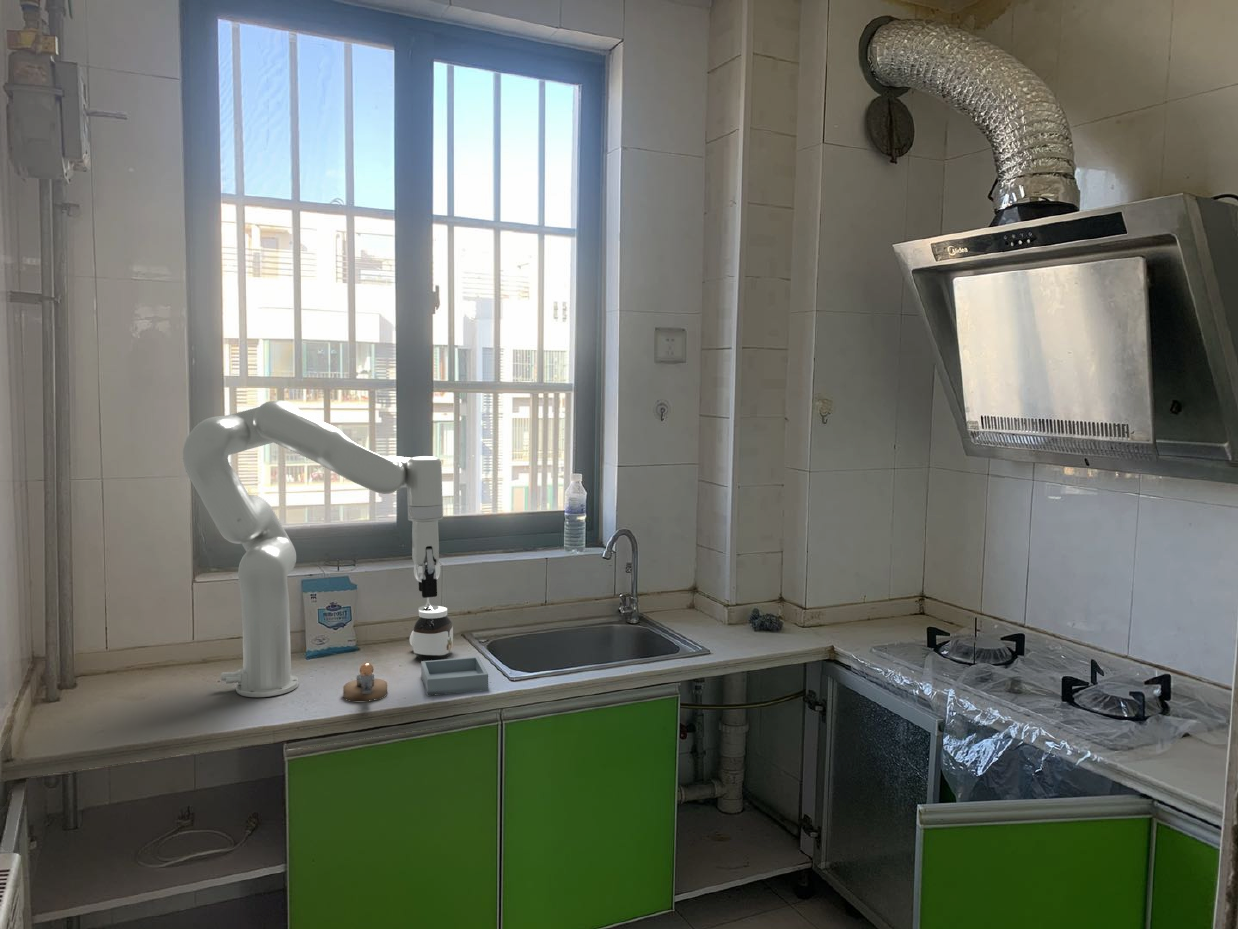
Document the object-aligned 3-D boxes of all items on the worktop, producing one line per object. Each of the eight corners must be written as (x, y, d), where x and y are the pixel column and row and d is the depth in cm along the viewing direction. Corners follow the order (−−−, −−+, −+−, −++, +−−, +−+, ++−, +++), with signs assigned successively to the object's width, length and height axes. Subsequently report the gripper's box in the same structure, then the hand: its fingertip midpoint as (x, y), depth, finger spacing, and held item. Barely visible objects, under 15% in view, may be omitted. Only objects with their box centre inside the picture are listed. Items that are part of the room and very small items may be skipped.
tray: (427, 695, 186) (427, 679, 185) (421, 676, 198) (421, 661, 198) (488, 689, 190) (488, 674, 189) (478, 671, 202) (478, 656, 202)
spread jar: (436, 664, 207) (436, 616, 206) (395, 658, 211) (394, 611, 210) (461, 650, 218) (461, 604, 217) (422, 645, 222) (421, 600, 221)
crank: (356, 682, 187) (356, 651, 186) (373, 681, 188) (373, 650, 187) (358, 698, 177) (357, 666, 177) (376, 697, 178) (375, 664, 178)
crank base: (343, 704, 180) (343, 694, 180) (343, 689, 189) (343, 680, 189) (388, 699, 183) (388, 690, 183) (386, 685, 192) (385, 676, 191)
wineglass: (418, 605, 196) (416, 552, 195) (444, 605, 196) (442, 552, 195) (412, 611, 190) (410, 557, 189) (438, 611, 190) (436, 557, 189)
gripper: (404, 508, 198) (406, 587, 200) (412, 519, 182) (414, 604, 184) (437, 506, 201) (439, 584, 202) (448, 517, 184) (450, 601, 186)
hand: (427, 593), depth 193 cm, fingers closed on wineglass, 5 cm apart
